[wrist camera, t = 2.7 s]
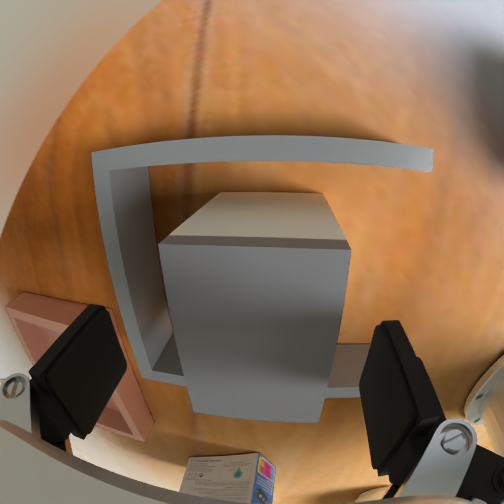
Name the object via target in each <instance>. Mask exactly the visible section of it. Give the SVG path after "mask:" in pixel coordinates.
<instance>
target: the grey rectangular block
mask: <svg viewBox="0 0 504 504" xmlns="http://www.w3.org/2000/svg"><path fill="white" fill-rule="evenodd" d="M158 247H159V254H160V260H161V267H162V273H163V279H164V285H165V290H166V296H167V301H168V307H169V312H170V317H171V322H172V327H173V331H174V336H175V340H176V345H177V349H178V354H179V358H180V362H181V366H182V370H183V374H184V378H185V382H186V386H187V390H188V393H189V397H190V401H191V404H192V408H193V411H194V412H195V413H201V414H207V415H214V416H221V417H229V418H237V419H247V420H258V421H272V422H292V423H318V422H319V419H320V415H321V411H322V407H323V404H324V400H325V396H326V391H327V387H328V383H329V379H330V374H331V370H332V365H333V361H334V356H335V351H336V346H337V341H338V335H339V330H340V324H341V319H342V313H343V307H344V301H345V294H346V287H347V280H348V273H349V265H350V257H351V248H350V246H349V244H348V242H347V240H346V238H345V236H344V234H343V232H342V230H341V228H340V226H339V224H338V222H337V220H336V218H335V216H334V214H333V212H332V210H331V208H330V206H329V204H328V202H327V200H326V198H325V197H324V195H323V194H320V193H290V192H220V193H219V194H218V195H216V196H215V197H214V198H213V199H211V200H210V201H209V202H208V203H206V204H205V205H204V206H203V207H201V208H200V209H199V210H198V211H197V212H195V213H194V214H193V215H192V216H191V217H189V218H188V219H187V220H186V221H185V222H183V223H182V224H181V225H180V226H179V227H177V228H176V229H175V230H174V231H173V232H172V233H170V234H169V235H168V236H167V237H166V238H165V239H163V240H162V241H161V242H160V243H159V244H158Z"/></svg>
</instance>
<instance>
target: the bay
mask: <svg viewBox="0 0 504 504" xmlns="http://www.w3.org/2000/svg"><path fill="white" fill-rule="evenodd" d="M433 152H434V149H432V148H426V147H420V146H413V145H406V144H399V143H391V142H383V141H374V140H364V139H353V138H339V137H322V136H294V135H252V136H224V137H207V138H193V139H181V140H171V141H162V142H154V143H146V144H138V145H131V146H125V147H118V148H112V149H106V150H101V151H95V152H91V156H92V167H93V177H94V186H95V194H96V201H97V208H98V215H99V221H100V227H101V232H102V238H103V243H104V248H105V253H106V258H107V262H108V267H109V271H110V275H111V279H112V284H113V288H114V291H115V295H116V299H117V303H118V306H119V310H120V313H121V317H122V320H123V324H124V327H125V330H126V333H127V336H128V340H129V343H130V346H131V349H132V352H133V355H134V357H135V360H136V363H137V366H138V369H139V371H140V374H141V377H142V378H144V379H149V380H154V381H158V382H163V383H168V384H174V385H179V386H185V387H187V386H186V382H185V378H184V374H183V370H182V366H181V362H180V358H179V354H178V349H177V345H176V340H175V336H174V333H173V331H172V327H171V322H170V317H169V312H168V307H167V302H166V297H165V291H164V286H163V280H162V274H161V268H160V261H159V255H158V248H157V241H156V234H155V226H154V218H153V210H152V200H151V191H150V180H149V168H148V166H156V165H169V164H183V163H200V162H224V161H305V162H329V163H346V164H360V165H372V166H382V167H392V168H401V169H410V170H418V171H425V172H432V169H433ZM370 345H371V344H337V346H336V351H335V356H334V361H333V365H332V370H331V374H330V379H329V383H328V387H327V391H326V396H325V398H354V397H360V391H359V381H360V377H361V374H362V371H363V368H364V365H365V362H366V358H367V355H368V352H369V348H370Z"/></svg>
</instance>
